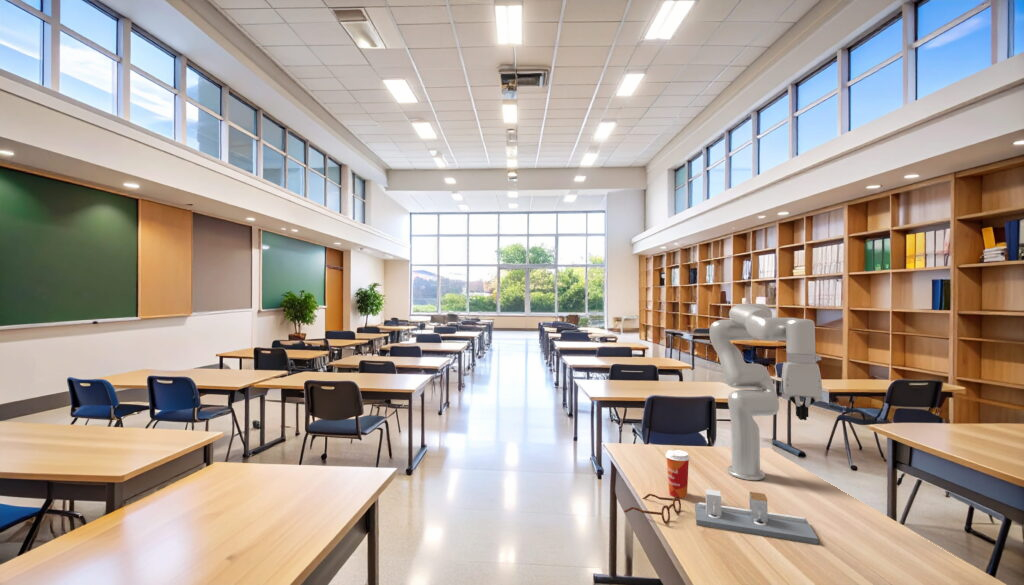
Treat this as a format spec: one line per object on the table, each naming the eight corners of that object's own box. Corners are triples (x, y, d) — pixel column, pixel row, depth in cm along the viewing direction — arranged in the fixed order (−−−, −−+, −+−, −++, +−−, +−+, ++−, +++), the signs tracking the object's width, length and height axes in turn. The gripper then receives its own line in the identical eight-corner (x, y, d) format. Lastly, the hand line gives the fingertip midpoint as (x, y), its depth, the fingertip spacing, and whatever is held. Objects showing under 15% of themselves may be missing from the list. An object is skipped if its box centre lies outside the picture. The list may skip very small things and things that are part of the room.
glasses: (664, 527, 128) (664, 509, 128) (623, 513, 137) (623, 496, 137) (682, 511, 138) (681, 495, 138) (642, 499, 147) (642, 484, 147)
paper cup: (662, 490, 152) (661, 449, 153) (683, 489, 153) (683, 448, 153) (672, 500, 145) (671, 457, 145) (694, 499, 145) (694, 456, 146)
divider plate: (695, 507, 140) (694, 483, 140) (805, 523, 129) (805, 497, 129) (696, 524, 128) (696, 498, 129) (817, 544, 118) (817, 515, 118)
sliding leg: (749, 514, 131) (749, 491, 131) (765, 516, 130) (764, 493, 130) (752, 521, 127) (751, 498, 127) (768, 524, 125) (767, 500, 125)
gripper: (825, 358, 136) (827, 418, 136) (770, 356, 142) (771, 414, 141) (833, 361, 129) (835, 424, 129) (775, 359, 135) (776, 419, 134)
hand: (802, 418), depth 135 cm, fingers closed
